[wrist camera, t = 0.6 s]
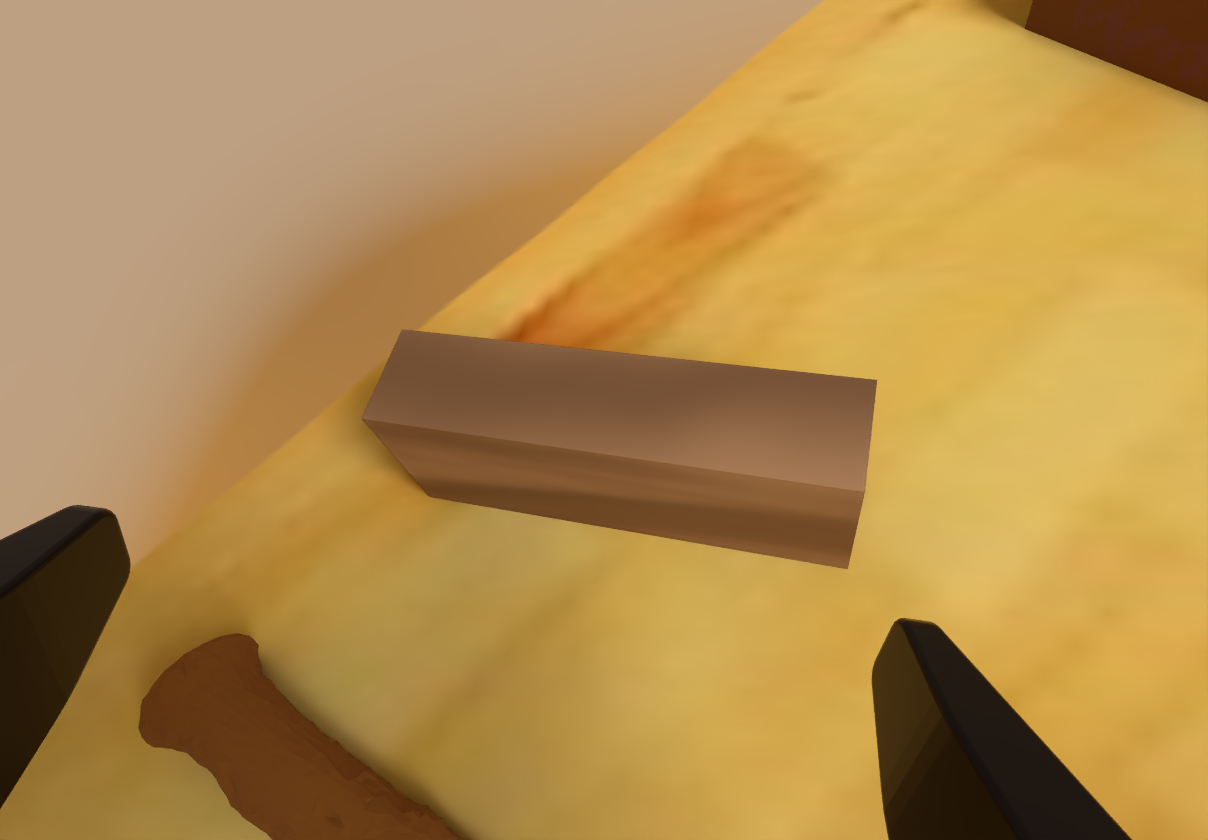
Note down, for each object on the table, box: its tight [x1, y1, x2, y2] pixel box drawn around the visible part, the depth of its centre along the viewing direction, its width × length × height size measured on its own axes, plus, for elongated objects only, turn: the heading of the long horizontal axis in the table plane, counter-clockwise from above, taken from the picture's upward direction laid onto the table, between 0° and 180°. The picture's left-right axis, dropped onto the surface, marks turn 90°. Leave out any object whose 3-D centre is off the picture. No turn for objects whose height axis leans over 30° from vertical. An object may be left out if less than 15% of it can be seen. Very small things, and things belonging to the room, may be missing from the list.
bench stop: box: [362, 330, 877, 569], centre depth 22 cm, size 3×13×5 cm, turn 75°
